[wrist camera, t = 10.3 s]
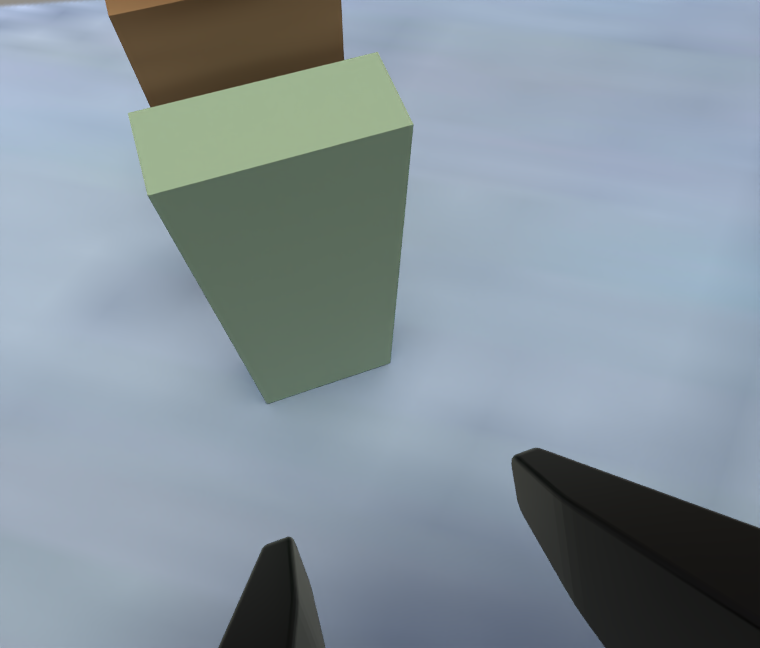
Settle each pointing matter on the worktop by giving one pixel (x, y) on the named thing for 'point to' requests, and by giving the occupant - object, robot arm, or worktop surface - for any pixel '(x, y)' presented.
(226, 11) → the walnut domino middle
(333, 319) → the green domino
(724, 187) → the worktop surface
